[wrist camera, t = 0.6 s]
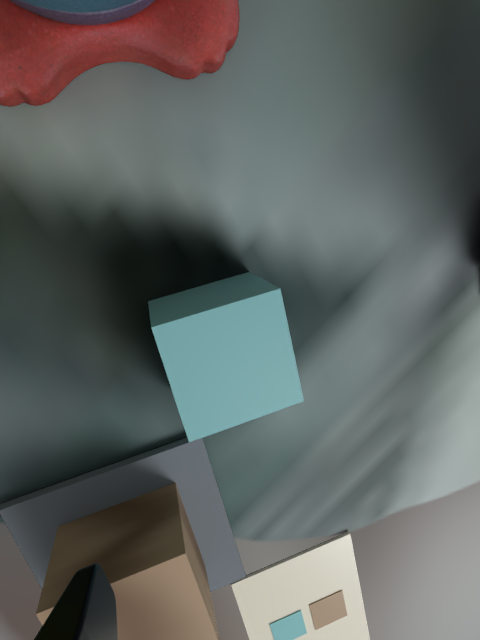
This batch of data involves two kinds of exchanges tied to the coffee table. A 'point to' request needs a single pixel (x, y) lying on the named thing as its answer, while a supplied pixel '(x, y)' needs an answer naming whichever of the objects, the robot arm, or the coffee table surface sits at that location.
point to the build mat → (122, 485)
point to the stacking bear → (107, 40)
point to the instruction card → (305, 596)
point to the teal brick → (226, 352)
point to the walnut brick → (139, 567)
